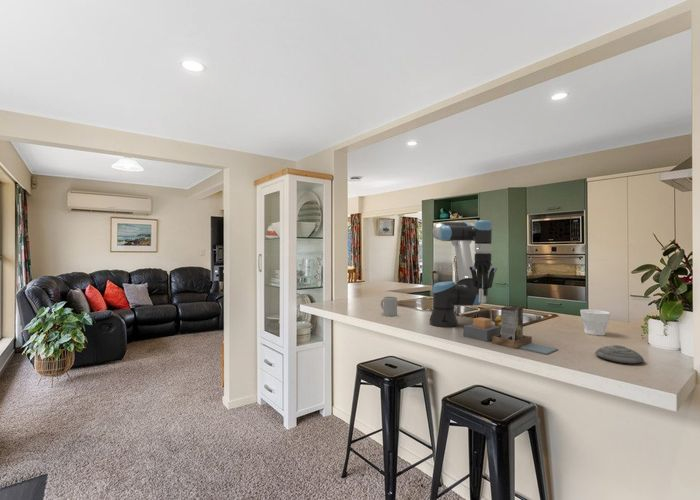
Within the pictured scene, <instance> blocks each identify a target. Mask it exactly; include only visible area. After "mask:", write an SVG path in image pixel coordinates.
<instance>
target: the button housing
mask: <svg viewBox="0 0 700 500" xmlns="http://www.w3.org/2000/svg"><path fill="white" fill-rule="evenodd" d="M499 334H501V327H499V326H496V325H495V324H494V325H492V324H491V327H489V328H480V327H475V326H473V323H470V324H465V325H463V337H466V338H471V339H475V340H479V341H483V342H490V341H492V336H496V335H499Z"/></svg>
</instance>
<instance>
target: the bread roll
mask: <svg viewBox="0 0 700 500" xmlns="http://www.w3.org/2000/svg"><path fill="white" fill-rule="evenodd" d="M494 326H499V327H501V314H498V315H497V316H496V318H495V319H494Z"/></svg>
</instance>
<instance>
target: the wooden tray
mask: <svg viewBox="0 0 700 500" xmlns="http://www.w3.org/2000/svg"><path fill="white" fill-rule="evenodd" d="M532 340H533V337H532V336H530V335H525V334H523V339H520V340H517V341H513V340H509V339H504V338H501V334H499V335H496V336H492V340H491V343H492V344H493V345H498V346H502V347H506V348H511V349H514V350H515V349H517V350H518V349H519V347H521V346H524V345H527V344H529V343H533V341H532Z"/></svg>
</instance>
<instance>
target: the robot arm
mask: <svg viewBox="0 0 700 500" xmlns="http://www.w3.org/2000/svg"><path fill="white" fill-rule="evenodd" d="M492 231H493V227H492V221H491V220H487V219H486V220H485V219H484V220H481V219H479V220H476V221H475V222H474V225H473V224H471V222H465V221H462V222H459V221H457V222H456V221H455V222H454V221H445V222H439V223H437V224H435V225H433V227H432V229H431V235H432V237H433V238H434V239H435V240H438V241H442V242H451V245H452V246H453V247H454V251H455V257H456V267H457V273H458V274H457V275H458V281H456V282H455V281H439V282H436V283H434V284H433V286H432V311H431V315H430V317H429V324H430V325H432V326H434V327H441V328H455V327H457V326H459V321H458V319H457V318H458V317H457V315H456V311H455V307H456V306H461V307H463V306H466V307H469V306H471V307H474V306H475V307H478V306H480V305H481V304H486V303H487V296H488V291H489V289H491V288H492V287H493V283H494V282H493V281H494V278H495V273H496V272H497V268H496V267H494V266H493V265H492V254H491V252H492V239H493V238H492V236H493V235H492V233H493V232H492ZM473 242H474V252H475V253H474V259H473V258H472V257H473V256H472V251H471V244H472V243H473ZM473 260H474V263H473Z"/></svg>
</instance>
